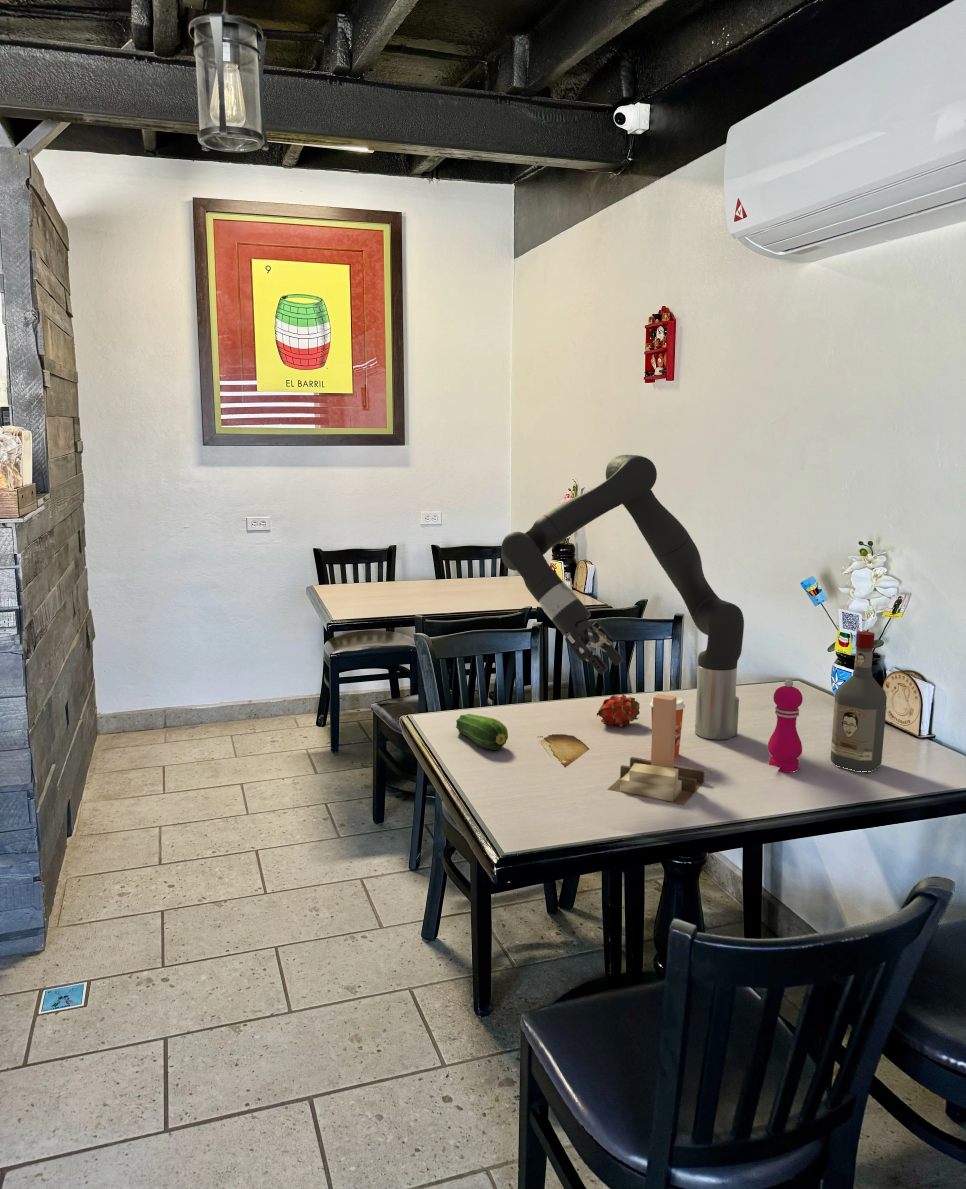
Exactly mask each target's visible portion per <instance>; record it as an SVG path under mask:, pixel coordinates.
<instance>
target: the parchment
mask: <svg viewBox="0 0 966 1189" xmlns="http://www.w3.org/2000/svg"><path fill="white" fill-rule="evenodd" d="M536 738H537V739H538V736H536ZM539 738H543V739H541V740H539V741H538V742H539V743H540V745H541V746H542V747H543V748H544V750H545V751H546V752H547V754H548V756H549V757H552V758H554V759H556V760H557V761H558V762H560V764H561V765H562V766H563V767H564V768H567V767H569V766H570V765H571V764H572V763H574V762H576V760H578V758H580V757H582V756H583V755H584V754H586V752H588V751H589V750H590V748H589V747H588V745H587V744H585V743H584V742H583V741H582V740H581V739H578V738H577V737H576V736H575V735H571V734H570V735H569V734H563V733H559V734H558V733H556V734H554V733H553V734H548V736H545V737H544V736H542V735H541V736H539Z"/></svg>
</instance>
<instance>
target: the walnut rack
mask: <svg viewBox="0 0 966 1189" xmlns="http://www.w3.org/2000/svg"><path fill="white" fill-rule="evenodd" d="M634 763H638V764H646V765H651V759H646V758H640V757H636V756H635V757H634V756H630V757H629V765H624V764H621V765H620V770H619V773H620V775H619V776H620V777H619V778H618V779H617V780H616V781H615V782H614V783H613V784H611V785H610V786H609V787H608V788H607V791H612V792H618V793H621V794H627V795H631V796H635V797H642V798H646V799H650V800H656V801H660V802H665V803H670V804H674V805H679V806H685V805H686V803H688V801H689V800H690V799H691V798H692V797H693V796H694V794H695V793H696V792H697V791H698V790H699V788H700V787H702V785H703V784H704V783H705V772H706V771H705V769H699V768H694V767H688V766H682V765H677V764H674V768H675V769H678V780H681V781H682V788H681V793H680V794H679V795H678V796H677V797H676V798H675V799H674V800H673V802H672V801H668V800H663V799H658V798H653V797H648V796H644V795H639V794H634V793H629V792H624V791H620V779H621V778H622V777H624V776H625V775H626V774H627V773H628V772H629V771H630V769H631V768H632V766H633V765H634Z"/></svg>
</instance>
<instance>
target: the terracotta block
mask: <svg viewBox="0 0 966 1189" xmlns="http://www.w3.org/2000/svg"><path fill="white" fill-rule="evenodd" d="M677 697H678V696H675V695H669V694H661V693H657V694H656V695H654V696H653V697H652V699H653V717H652V716H651V747H650V748H651V749H650V750H651V751H650V752H651V754H650V760H651V765H653V766H660V767H668V768H674V765H675V759H674V752H675V726H676V701H677Z"/></svg>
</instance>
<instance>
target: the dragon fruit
mask: <svg viewBox="0 0 966 1189" xmlns="http://www.w3.org/2000/svg"><path fill="white" fill-rule="evenodd" d="M620 695H621V696H619V695H614V694H613V695H610V698H607V699H604V700H603V702H602V705H601V706H600V708H599V710H598V711H597V712H596V717H600V718H601V720H600V722H601V723H603V725H609V726H615V725H619V728H623V727H624V726H627V725H630V722H634V721H636V720H639V718H640V717H639V716H638V715H640V714H641V713H640V708H641V706H640V703H641V702H640V703H639V702H638V701H637V700H636V698H635V697H633V696H629V697H627V695H625V694H624V693H621V694H620Z"/></svg>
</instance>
